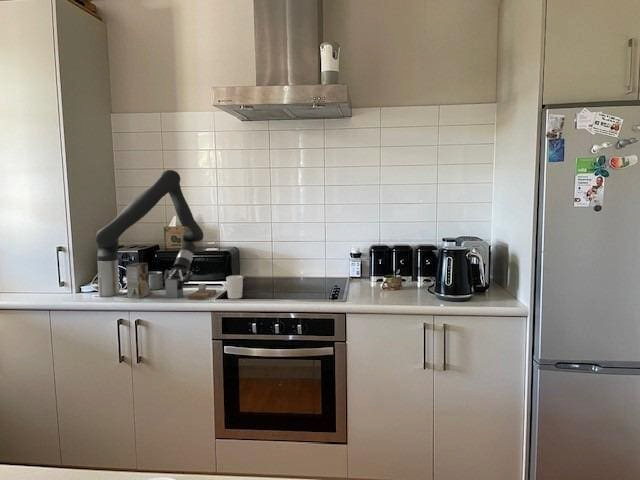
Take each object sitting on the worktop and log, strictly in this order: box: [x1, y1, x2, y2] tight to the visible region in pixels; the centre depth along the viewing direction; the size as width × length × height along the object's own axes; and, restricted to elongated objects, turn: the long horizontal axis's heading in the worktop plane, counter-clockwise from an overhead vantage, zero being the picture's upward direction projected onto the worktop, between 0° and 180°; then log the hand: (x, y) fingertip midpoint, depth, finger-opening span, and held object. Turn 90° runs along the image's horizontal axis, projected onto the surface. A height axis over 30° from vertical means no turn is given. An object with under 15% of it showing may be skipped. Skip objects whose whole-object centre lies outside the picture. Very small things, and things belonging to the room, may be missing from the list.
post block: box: [187, 283, 217, 301], centre depth 219 cm, size 14×8×6 cm, turn 170°
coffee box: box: [125, 262, 150, 300], centre depth 219 cm, size 9×6×16 cm
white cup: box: [225, 275, 244, 300], centre depth 217 cm, size 8×8×10 cm
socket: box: [164, 276, 184, 299], centre depth 218 cm, size 6×6×9 cm
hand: (172, 288), depth 217 cm, fingers closed on socket, 6 cm apart
